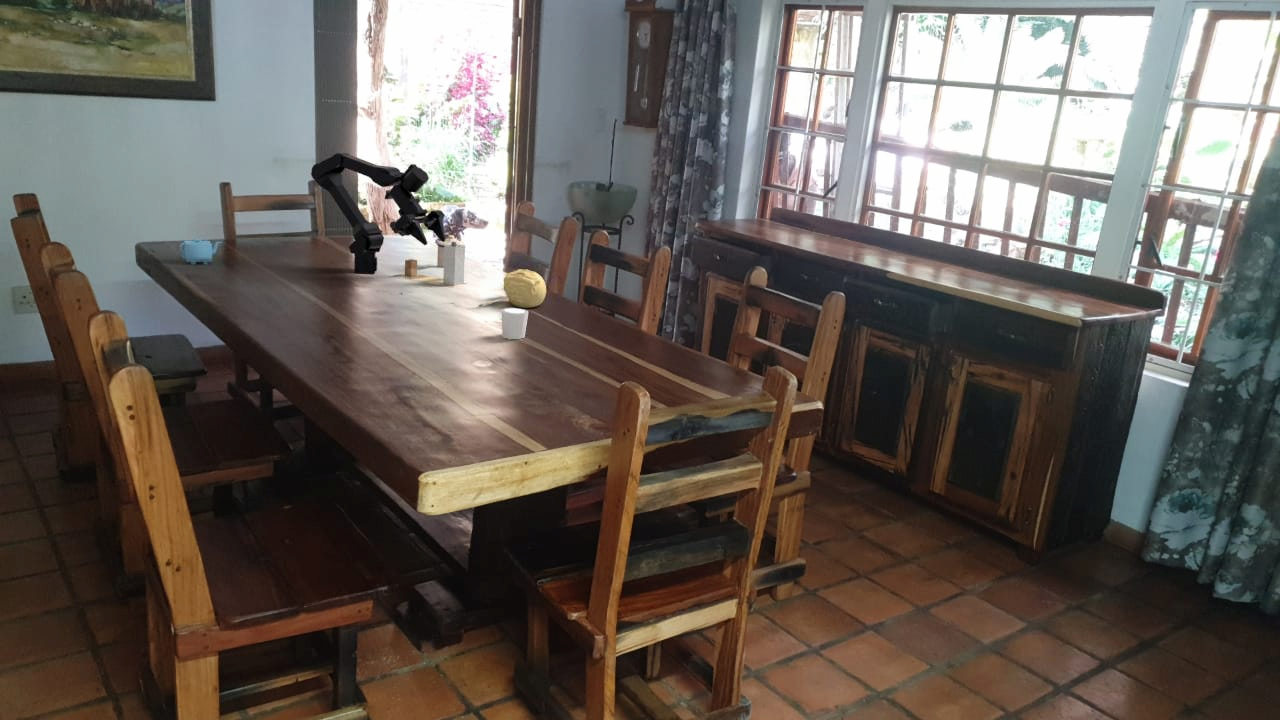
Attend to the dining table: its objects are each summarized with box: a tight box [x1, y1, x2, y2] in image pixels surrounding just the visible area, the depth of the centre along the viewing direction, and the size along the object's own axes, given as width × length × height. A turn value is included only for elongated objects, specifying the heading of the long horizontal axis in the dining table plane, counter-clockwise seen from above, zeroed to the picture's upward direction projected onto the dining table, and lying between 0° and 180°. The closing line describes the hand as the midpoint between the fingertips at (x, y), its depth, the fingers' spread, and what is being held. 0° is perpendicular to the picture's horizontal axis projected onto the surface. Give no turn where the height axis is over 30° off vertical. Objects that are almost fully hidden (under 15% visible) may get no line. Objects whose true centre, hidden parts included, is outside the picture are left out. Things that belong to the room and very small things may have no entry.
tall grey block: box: [442, 242, 466, 288], centre depth 283 cm, size 4×5×13 cm
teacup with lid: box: [437, 234, 466, 268], centre depth 312 cm, size 12×9×12 cm
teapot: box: [179, 238, 222, 265], centre depth 288 cm, size 12×6×8 cm, turn 121°
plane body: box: [396, 258, 468, 289], centre depth 287 cm, size 21×8×6 cm, turn 66°
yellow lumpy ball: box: [503, 268, 547, 309], centre depth 272 cm, size 12×12×11 cm
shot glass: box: [500, 307, 529, 340], centre depth 237 cm, size 7×7×7 cm
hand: (435, 242), depth 284 cm, fingers open, 9 cm apart
